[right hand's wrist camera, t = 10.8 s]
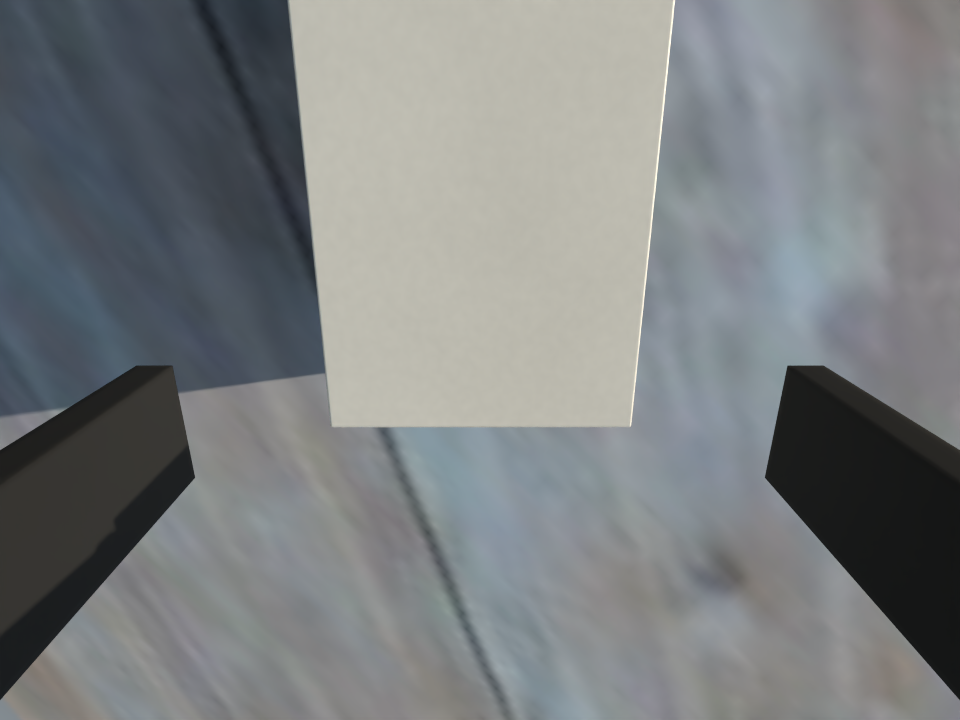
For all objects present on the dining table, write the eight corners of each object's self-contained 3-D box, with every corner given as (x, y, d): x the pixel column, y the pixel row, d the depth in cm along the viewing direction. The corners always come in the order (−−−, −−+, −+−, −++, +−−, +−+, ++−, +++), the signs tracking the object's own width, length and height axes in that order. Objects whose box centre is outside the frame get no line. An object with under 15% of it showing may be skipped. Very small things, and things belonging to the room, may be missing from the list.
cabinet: (345, -170, 22) (244, -412, 13) (615, -169, 22) (718, -412, 13) (378, 339, 29) (330, 428, 20) (582, 339, 29) (631, 427, 20)
